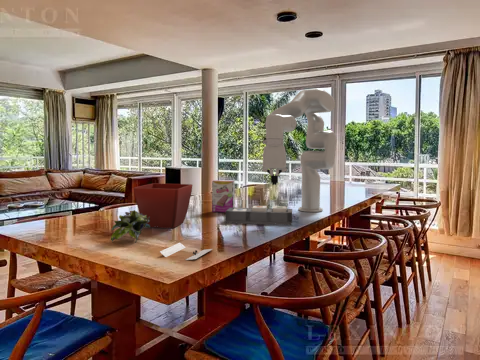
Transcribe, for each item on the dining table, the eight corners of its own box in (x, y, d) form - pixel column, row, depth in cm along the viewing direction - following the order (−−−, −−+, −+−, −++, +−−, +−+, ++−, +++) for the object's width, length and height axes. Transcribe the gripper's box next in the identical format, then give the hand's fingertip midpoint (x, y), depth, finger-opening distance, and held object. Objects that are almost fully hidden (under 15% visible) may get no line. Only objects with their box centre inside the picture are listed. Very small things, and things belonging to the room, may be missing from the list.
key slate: (234, 214, 168) (234, 208, 167) (247, 215, 167) (247, 208, 166) (232, 217, 162) (232, 210, 161) (245, 217, 161) (245, 210, 161)
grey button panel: (230, 217, 172) (230, 206, 172) (292, 219, 168) (292, 208, 167) (224, 223, 158) (224, 211, 158) (291, 225, 154) (292, 213, 154)
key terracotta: (253, 212, 166) (253, 205, 166) (266, 212, 165) (266, 205, 165) (252, 214, 160) (252, 207, 160) (265, 214, 159) (265, 207, 159)
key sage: (273, 212, 165) (273, 205, 165) (286, 213, 164) (286, 206, 164) (272, 214, 159) (272, 207, 159) (286, 215, 158) (286, 208, 158)
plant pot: (177, 230, 143) (177, 188, 141) (133, 228, 147) (132, 187, 145) (193, 221, 162) (193, 184, 160) (153, 220, 165) (153, 183, 164)
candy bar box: (211, 212, 186) (211, 180, 185) (213, 210, 191) (213, 179, 190) (233, 212, 185) (233, 180, 184) (234, 211, 190) (234, 180, 188)
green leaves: (132, 253, 132) (150, 221, 137) (142, 255, 122) (161, 220, 127) (101, 237, 127) (121, 204, 132) (109, 238, 117) (130, 202, 122)
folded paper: (195, 263, 104) (195, 256, 103) (159, 258, 108) (159, 251, 108) (213, 252, 115) (213, 246, 115) (180, 248, 119) (180, 242, 119)
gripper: (256, 143, 157) (256, 185, 159) (291, 142, 154) (291, 185, 156) (258, 143, 164) (258, 183, 166) (292, 143, 162) (291, 184, 163)
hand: (274, 184), depth 161 cm, fingers closed
